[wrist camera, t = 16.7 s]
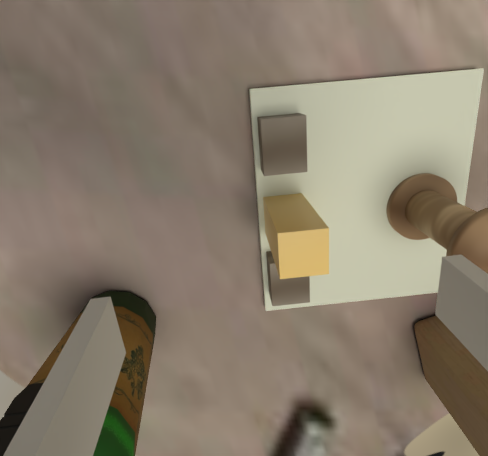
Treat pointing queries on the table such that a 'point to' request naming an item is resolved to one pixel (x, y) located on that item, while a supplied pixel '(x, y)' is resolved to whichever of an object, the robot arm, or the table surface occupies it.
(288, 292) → the notch board
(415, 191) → the bobbin
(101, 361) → the robot arm
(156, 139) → the table surface
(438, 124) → the board
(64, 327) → the table surface
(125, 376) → the bottle
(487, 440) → the wooden block
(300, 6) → the table surface
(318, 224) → the yellow rectangular block
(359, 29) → the table surface
